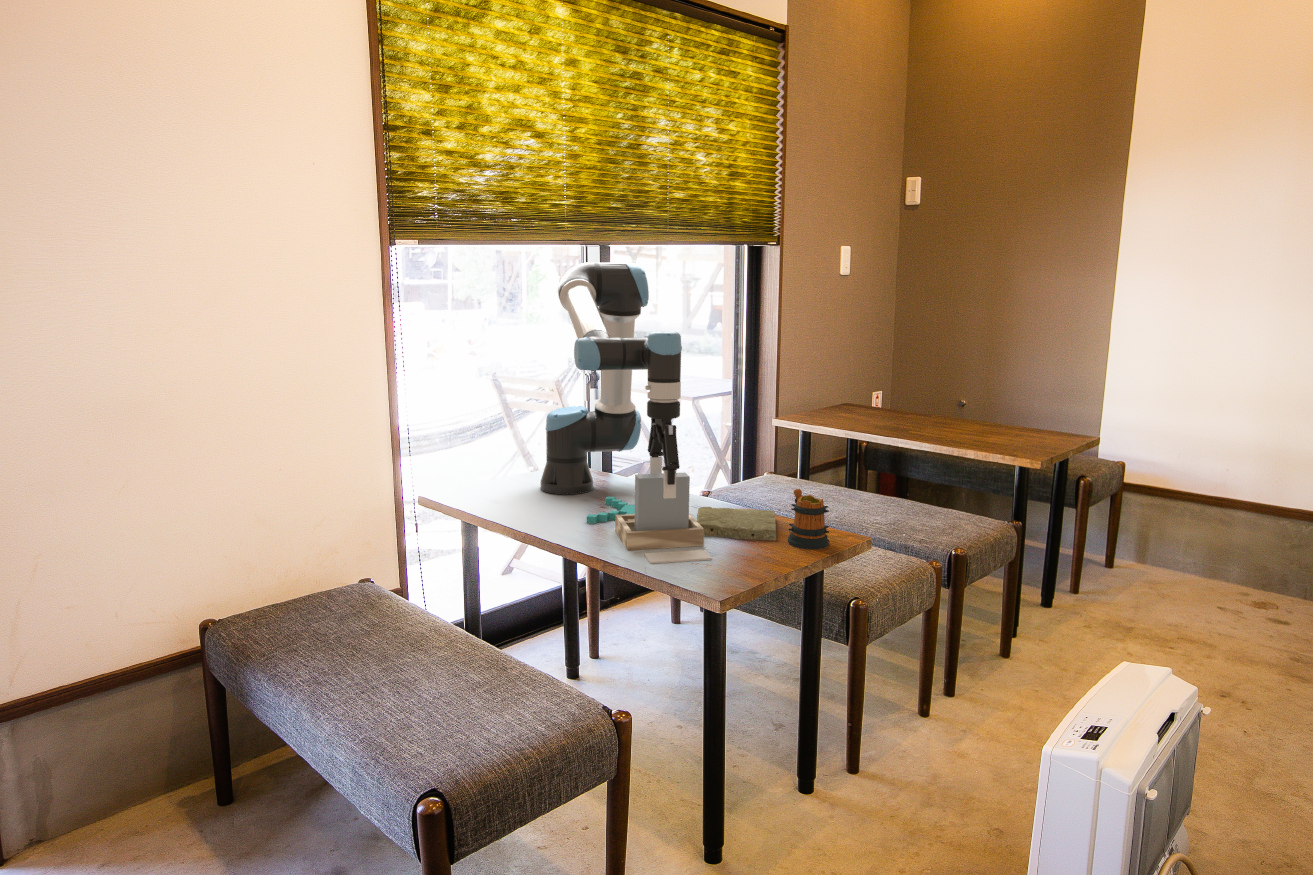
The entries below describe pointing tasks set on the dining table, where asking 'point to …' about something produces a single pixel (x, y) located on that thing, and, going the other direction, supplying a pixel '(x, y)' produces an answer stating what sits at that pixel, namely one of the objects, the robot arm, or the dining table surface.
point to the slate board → (661, 503)
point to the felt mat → (677, 556)
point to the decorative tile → (738, 523)
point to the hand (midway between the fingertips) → (662, 490)
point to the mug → (808, 523)
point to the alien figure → (614, 503)
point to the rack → (657, 535)
